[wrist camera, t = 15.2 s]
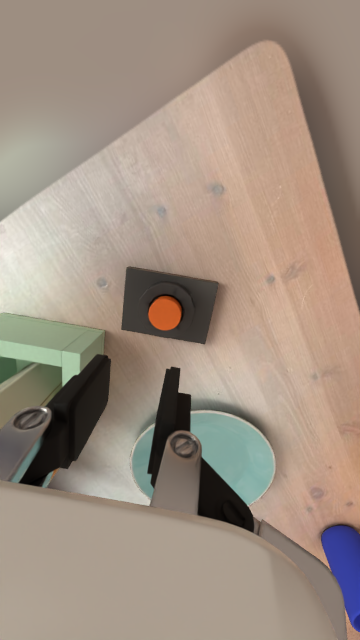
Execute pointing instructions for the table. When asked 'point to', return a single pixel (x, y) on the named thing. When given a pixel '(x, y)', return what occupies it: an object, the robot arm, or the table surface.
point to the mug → (345, 566)
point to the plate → (219, 454)
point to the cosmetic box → (29, 389)
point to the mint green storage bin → (46, 345)
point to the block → (186, 290)
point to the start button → (165, 313)
